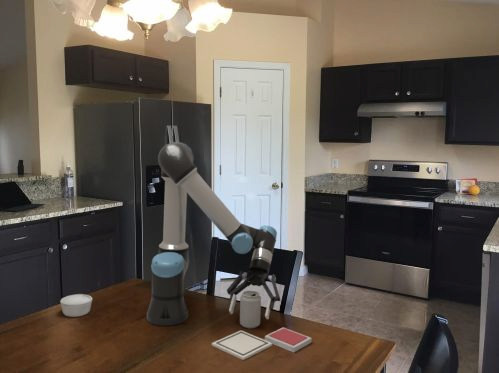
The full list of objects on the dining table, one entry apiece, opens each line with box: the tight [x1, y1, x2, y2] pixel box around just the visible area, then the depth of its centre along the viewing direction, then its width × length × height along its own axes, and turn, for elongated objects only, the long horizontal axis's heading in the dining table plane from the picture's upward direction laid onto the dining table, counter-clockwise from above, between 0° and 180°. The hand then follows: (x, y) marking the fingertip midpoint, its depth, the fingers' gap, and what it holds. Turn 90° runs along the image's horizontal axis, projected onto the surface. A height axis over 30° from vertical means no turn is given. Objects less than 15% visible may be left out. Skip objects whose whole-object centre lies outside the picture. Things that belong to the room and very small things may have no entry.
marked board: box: [211, 330, 273, 361], centre depth 150 cm, size 14×14×1 cm
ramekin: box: [59, 293, 93, 318], centre depth 174 cm, size 11×11×5 cm
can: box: [239, 290, 262, 329], centre depth 166 cm, size 8×8×12 cm
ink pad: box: [264, 327, 312, 353], centre depth 154 cm, size 12×10×2 cm
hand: (248, 315), depth 164 cm, fingers open, 13 cm apart
